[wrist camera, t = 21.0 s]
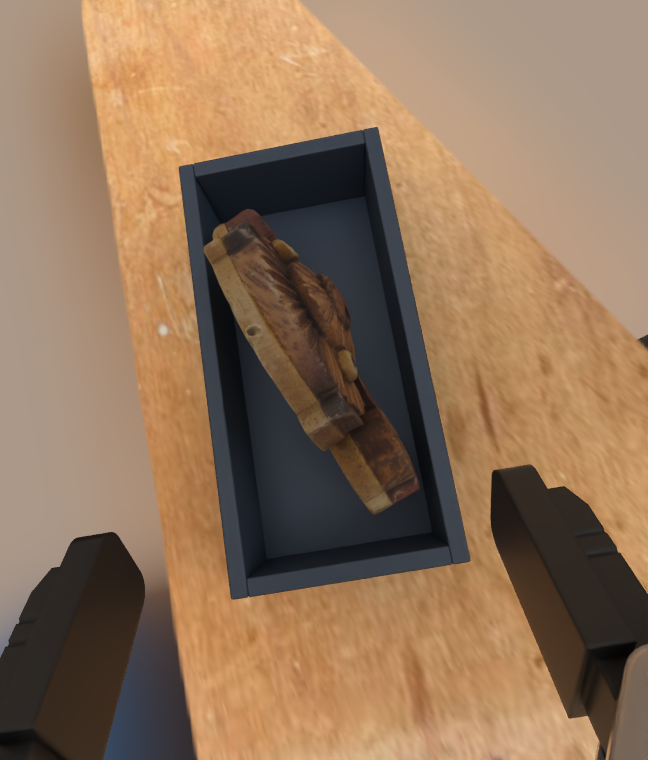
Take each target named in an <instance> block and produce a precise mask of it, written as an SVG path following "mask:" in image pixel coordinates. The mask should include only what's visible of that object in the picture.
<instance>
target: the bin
mask: <svg viewBox="0 0 648 760" xmlns="http://www.w3.org/2000/svg"><path fill="white" fill-rule="evenodd" d="M179 174H180V182H181V190H182V199H183V207H184V215H185V223H186V232H187V240H188V248H189V256H190V265H191V273H192V281H193V289H194V297H195V306H196V314H197V322H198V330H199V339H200V347H201V355H202V363H203V372H204V380H205V388H206V396H207V405H208V413H209V421H210V429H211V437H212V446H213V454H214V462H215V470H216V479H217V487H218V495H219V503H220V512H221V520H222V528H223V536H224V544H225V553H226V561H227V569H228V577H229V586H230V594H231V599H233V600H234V599H241V598H247V597H248V596H249V597H254V596H260V595H266V594H272V593H279V592H285V591H291V590H297V589H303V588H310V587H316V586H322V585H328V584H335V583H341V582H347V581H353V580H359V579H366V578H372V577H378V576H384V575H390V574H397V573H403V572H409V571H415V570H422V569H428V568H434V567H440V566H446V565H451V564H459V563H465V562H470V555H469V551H468V546H467V541H466V536H465V532H464V527H463V522H462V518H461V513H460V508H459V504H458V499H457V494H456V490H455V485H454V480H453V476H452V471H451V466H450V462H449V457H448V452H447V448H446V443H445V438H444V434H443V429H442V424H441V420H440V415H439V410H438V406H437V401H436V396H435V392H434V387H433V382H432V378H431V373H430V368H429V364H428V359H427V354H426V350H425V345H424V340H423V336H422V331H421V326H420V322H419V317H418V312H417V308H416V303H415V298H414V294H413V289H412V284H411V280H410V275H409V270H408V266H407V261H406V256H405V252H404V247H403V242H402V238H401V233H400V228H399V224H398V219H397V214H396V209H395V205H394V200H393V195H392V191H391V186H390V181H389V177H388V172H387V167H386V163H385V158H384V153H383V149H382V144H381V139H380V135H379V130H378V127H374V128H369V129H364V130H363V131H362V130H360V131H355V132H350V133H344V134H339V135H334V136H329V137H324V138H319V139H314V140H309V141H304V142H299V143H294V144H289V145H284V146H279V147H274V148H269V149H264V150H259V151H254V152H249V153H244V154H239V155H234V156H229V157H224V158H219V159H214V160H209V161H204V162H199V163H194V166H193V164H190V165H185V166H180V167H179ZM247 209H251V210H254V211H256V212H257V213H258V214H259V215H260V216H261V217H262V218H263V219H264V220H265V221H266V222H267V224H268V225H269V226H270V227H271V229H272V230H273V232H274V233H275V235H276V237H277V238H278V240H282V241H284V242H285V243H287V244H288V245H289V246H290V247H292V248H293V249H294V251H295V252H296V253H297V254H298V255H299V258H298V261H299V262H300V263H301V264H303V265H305V266H307V267H308V268H309V269H311V270H312V271H313V272H314V273H316V274H323V275H325V276H327V277H329V278H330V279H331V281H332V282H333V283H334V284H335V286H336V287H337V289H338V290H339V292H340V293H341V295H342V296H343V298H344V300H345V302H346V304H347V306H348V310H349V314H350V318H351V326H350V328H349V329H350V332H351V336H352V341H353V344H354V350H355V357H356V360H355V362H356V367H357V371H358V373H359V375H360V377H361V378H362V380H363V382H364V384H365V386H366V387H367V389H368V391H369V392H370V394H371V396H372V397H373V399H374V400H375V402H376V404H377V405H378V407H379V408H380V409H381V410H382V411H383V412H384V414H385V415H386V417H387V418H388V420H389V421H390V423H391V424H392V426H393V427H394V428H395V430H396V431H397V433H398V436H399V438H400V440H401V441H402V443H403V445H404V447H405V449H406V450H407V452H408V454H409V457H410V459H411V461H412V464H413V466H414V468H415V471H416V474H417V477H418V480H419V485H420V489H419V490H417V491H416V492H414V493H413V494H411V495H409V496H407V497H406V498H404V499H402V500H400V501H399V502H397V503H395V504H393V505H392V506H390V507H388V508H387V509H385V510H384V511H382V512H380V513H379V514H377V515H374V514H372V513H371V512H370V511H369V510H368V509H367V507H366V506H365V504H364V503H363V502H362V500H361V499H360V498H359V496H358V495H357V493H356V492H355V490H354V489H353V487H352V486H351V484H350V483H349V481H348V479H347V478H346V476H345V474H344V473H343V471H342V470H341V468H340V466H339V464H338V462H337V461H336V459H335V457H334V455H333V454H332V452H331V450H330V448H328V449H327V450H326V451H325V452H324V451H322V450H321V449H320V448H319V447H318V446H317V445H316V444H315V443H314V442H312V440H311V439H310V438H309V436H308V435H307V434H306V432H305V431H304V429H303V427H302V425H301V423H300V421H299V419H298V417H297V415H296V413H295V412H294V411H293V409H292V408H291V407H290V405H289V404H288V402H287V401H286V399H285V398H284V396H283V395H282V393H281V392H280V390H279V389H278V387H277V386H276V384H275V383H274V381H273V380H272V378H271V377H270V375H269V374H268V372H267V371H266V369H265V368H264V366H263V365H262V363H261V362H260V360H259V358H258V356H257V355H256V353H255V351H254V349H253V348H252V346H251V345H250V343H249V342H248V340H247V338H246V337H245V335H244V333H243V331H242V329H241V327H240V325H239V323H238V322H237V320H236V318H235V316H234V314H233V312H232V310H231V306H230V304H229V302H228V301H227V299H226V297H225V295H224V293H223V291H222V289H221V287H220V285H219V282H218V280H217V277H216V275H215V272H214V270H213V267H212V265H211V264H210V262H209V260H208V258H207V257H206V255H205V253H204V252H203V249H204V246H206V245H207V244H208V243H210V242H211V241H213V232H214V229H215V228H216V227H217V226H219V225H220V224H224V223H227V222H228V221H230V220H231V219H233V218H234V217H235V216H237V215H238V214H239V213H240V212H242V211H244V210H247Z"/></svg>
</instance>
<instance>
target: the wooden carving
mask: <svg viewBox="0 0 648 760" xmlns="http://www.w3.org/2000/svg"><path fill="white" fill-rule="evenodd" d="M203 252H204V253H205V255H206V257H207V258H208V260H209V262H210V264H211V265H212V267H213V270H214V272H215V275H216V277H217V280H218V282H219V285H220V287H221V289H222V291H223V293H224V295H225V297H226V299H227V301H228V302H229V304H230V306H231V310H232V312H233V314H234V316H235V318H236V320H237V322H238V323H239V325H240V327H241V329H242V331H243V333H244V335H245V337H246V338H247V340H248V342H249V343H250V345H251V346H252V348H253V349H254V351H255V353H256V355H257V356H258V358H259V360H260V362H261V363H262V365H263V366H264V368H265V369H266V371H267V372H268V374H269V375H270V377H271V378H272V380H273V381H274V383H275V384H276V386H277V387H278V389H279V390H280V392H281V393H282V395H283V396H284V398H285V399H286V401H287V402H288V404H289V405H290V407H291V408H292V409H293V411H294V412H295V413H296V415H297V417H298V419H299V421H300V423H301V425H302V427H303V429H304V431H305V432H306V434H307V435H308V436H309V438H310V439H311V440H312V442H314V443H315V444H316V445H317V446H318V447H319V448H320V449H321V450H322V451H324V452H325V451H326V450H327V449H328V448H330V450H331V452H332V454H333V455H334V457H335V459H336V461H337V462H338V464H339V466H340V468H341V470H342V471H343V473H344V474H345V476H346V478H347V479H348V481H349V483H350V484H351V486H352V487H353V489H354V490H355V492H356V493H357V495H358V496H359V498H360V499H361V500H362V502H363V503H364V504H365V506H366V507H367V509H368V510H369V511H370V512H371V513H372V514H374V515H377V514H379V513H380V512H382V511H384V510H385V509H387V508H388V507H390V506H392V505H393V504H395V503H397V502H399V501H400V500H402V499H404V498H406V497H407V496H409V495H411V494H413V493H414V492H416V491H417V490H419V489H420V485H419V480H418V477H417V474H416V471H415V468H414V466H413V464H412V461H411V459H410V457H409V454H408V452H407V450H406V449H405V447H404V445H403V443H402V441H401V440H400V438H399V436H398V433H397V431H396V430H395V428H394V427H393V426H392V424H391V423H390V421H389V420H388V418H387V417H386V415H385V414H384V412H383V411H382V410H381V409H380V408H379V407H378V405H377V404H376V402H375V400H374V399H373V397H372V396H371V394H370V392H369V391H368V389H367V387H366V386H365V384H364V382H363V380H362V378H361V377H360V375H359V373H358V371H357V367H356V362H355V360H356V357H355V350H354V344H353V341H352V336H351V332H350V329H349V328H350V326H351V318H350V314H349V310H348V306H347V304H346V302H345V300H344V298H343V296H342V295H341V293H340V292H339V290H338V289H337V287H336V286H335V284H334V283H333V282H332V281H331V279H330V278H329V277H327V276H325V275H323V274H316V273H314V272H313V271H312V270H311V269H309V268H308V267H307V266H305V265H303V264H301V263H300V262H299V261H298V258H299V255H298V254H297V253H296V252H295V251H294V249H293V248H292V247H290V246H289V245H288V244H287V243H285V242H284V241H282V240H278V238H277V237H276V235H275V233H274V232H273V230H272V229H271V227H270V226H269V225H268V224H267V222H266V221H265V220H264V219H263V218H262V217H261V216H260V215H259V214H258V213H257V212H256V211H254V210H251V209H247V210H244V211H242V212H240V213H239V214H238V215H237V216H235V217H234V218H233V219H231V220H230V221H228V222H227V223H224V224H220V225H219V226H217V227H216V228H215V229H214V232H213V241H211V242H210V243H208V244H207V245H206V246H204V249H203Z"/></svg>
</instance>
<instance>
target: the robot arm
mask: <svg viewBox="0 0 648 760" xmlns="http://www.w3.org/2000/svg"><path fill="white" fill-rule="evenodd" d="M490 517H491V528H492V533H493V537H494V540H495V543H496V546H497V549H498V551H499V554H500V556H501V559H502V561H503V563H504V566H505V568H506V570H507V573H508V575H509V578H510V580H511V582H512V585H513V587H514V589H515V592H516V594H517V597H518V599H519V601H520V604H521V606H522V608H523V611H524V613H525V616H526V618H527V620H528V623H529V625H530V627H531V630H532V632H533V635H534V637H535V639H536V642H537V644H538V646H539V649H540V651H541V654H542V656H543V658H544V661H545V663H546V665H547V668H548V670H549V672H550V675H551V677H552V680H553V682H554V684H555V687H556V689H557V691H558V694H559V696H560V699H561V701H562V703H563V706H564V708H565V710H566V713H567V715H568V718H576V717H583V716H588V717H589V719H590V722H591V724H592V726H593V728H594V730H595V733H596V735H597V737H598V739H599V742H598V746H597V751H596V756H595V760H648V594H647V593H646V591H645V590H644V588H643V586H642V585H641V583H640V582H639V580H638V579H637V577H636V576H635V574H634V573H633V571H632V570H631V568H630V567H629V565H628V564H627V562H626V561H625V559H624V558H623V556H622V555H621V553H618V551H617V547H616V546H615V544H614V543H613V541H612V540H611V538H610V537H609V535H608V534H607V533H605V532H604V528H603V526H602V525H601V523H600V522H599V520H598V519H597V517H596V516H595V514H594V513H593V511H592V510H591V508H590V507H589V505H588V504H587V503H586V502H584V501H583V500H582V499H580V498H579V497H578V496H576V495H575V494H574V493H573V492H571V491H570V490H569V489H567V488H566V487H565V486H563V487H557V488H550V489H547V487H546V485H545V484H544V482H543V480H542V479H541V477H540V475H539V474H538V472H537V470H536V469H535V468H534V467H533V466H532V465H523V466H517V467H511V468H505V469H499V470H494V471H493V472H492V484H491V516H490ZM144 598H145V584H144V579H143V576H142V574H141V571H140V570H139V568H138V567H137V565H136V564H135V562H134V560H133V559H132V557H131V556H130V554H129V552H128V551H127V549H126V548H125V546H124V545H123V543H122V541H121V540H120V538H119V537H118V535H117V534H116V533H114V532H109V533H103V534H97V535H92V536H85V537H79V538H76V539H74V540H73V541H72V542H71V544H70V546H69V548H68V550H67V552H66V554H65V557H64V559H63V561H62V563H61V566H60V567H55V568H51V570H50V571H49V572H48V573H47V574H46V576H45V577H44V578H43V579H42V580H41V582H40V583H39V584H38V585H37V587H36V588H35V589H34V590H33V591H32V592H31V594H30V597H29V599H28V601H27V603H26V605H25V607H24V609H23V611H22V613H21V615H20V617H19V624H16V626H15V628H14V630H13V632H12V635H11V636H10V639H9V645H8V646H7V647H5V649H4V651H3V654H2V655H1V658H0V760H103V757H104V753H105V749H106V745H107V742H108V738H109V734H110V730H111V726H112V722H113V719H114V715H115V711H116V707H117V703H118V700H119V696H120V692H121V688H122V684H123V680H124V677H125V673H126V669H127V665H128V661H129V658H130V654H131V650H132V646H133V642H134V638H135V635H136V631H137V627H138V623H139V619H140V615H141V612H142V608H143V604H144Z"/></svg>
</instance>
